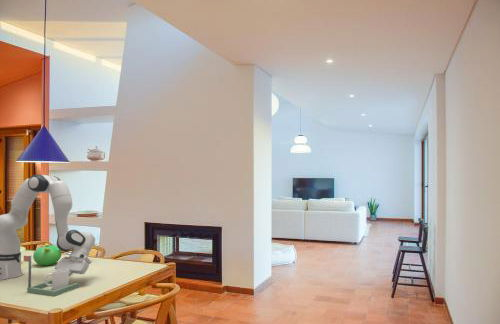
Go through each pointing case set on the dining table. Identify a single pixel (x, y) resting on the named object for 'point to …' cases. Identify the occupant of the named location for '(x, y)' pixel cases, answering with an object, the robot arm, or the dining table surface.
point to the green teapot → (47, 254)
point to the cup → (58, 278)
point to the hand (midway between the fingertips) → (64, 278)
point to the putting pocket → (38, 288)
